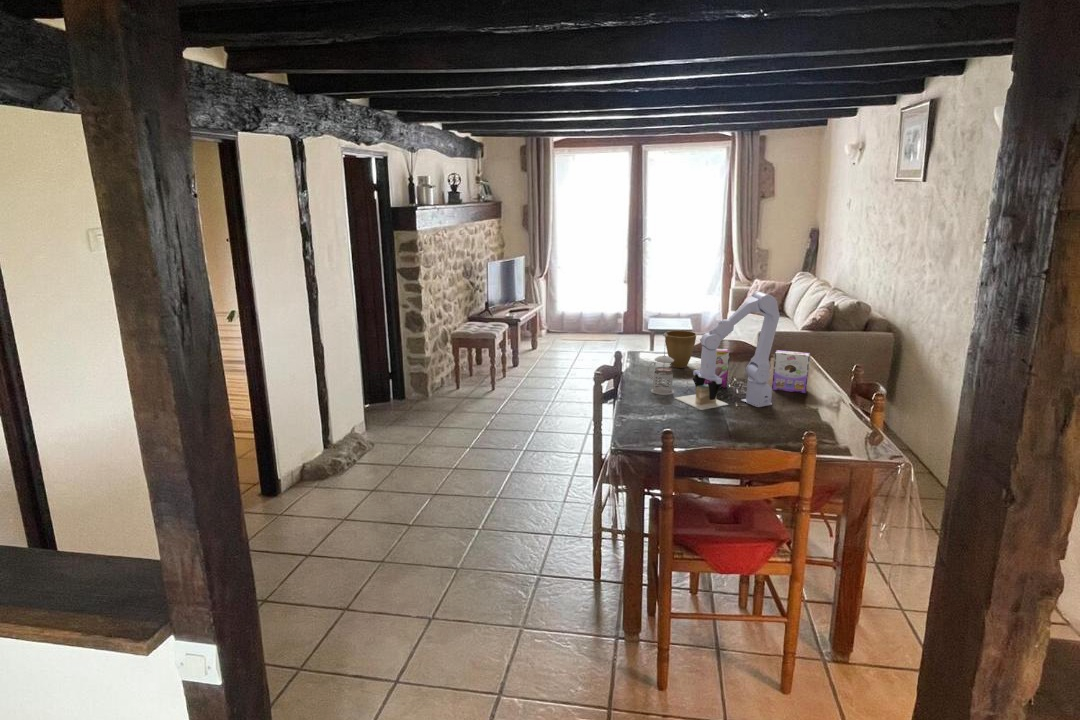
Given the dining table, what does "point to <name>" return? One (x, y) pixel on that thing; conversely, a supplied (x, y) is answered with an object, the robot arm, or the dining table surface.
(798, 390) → the candy box
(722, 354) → the candy bar box
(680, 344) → the plant pot
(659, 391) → the french press
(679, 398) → the mat
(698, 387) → the slab
